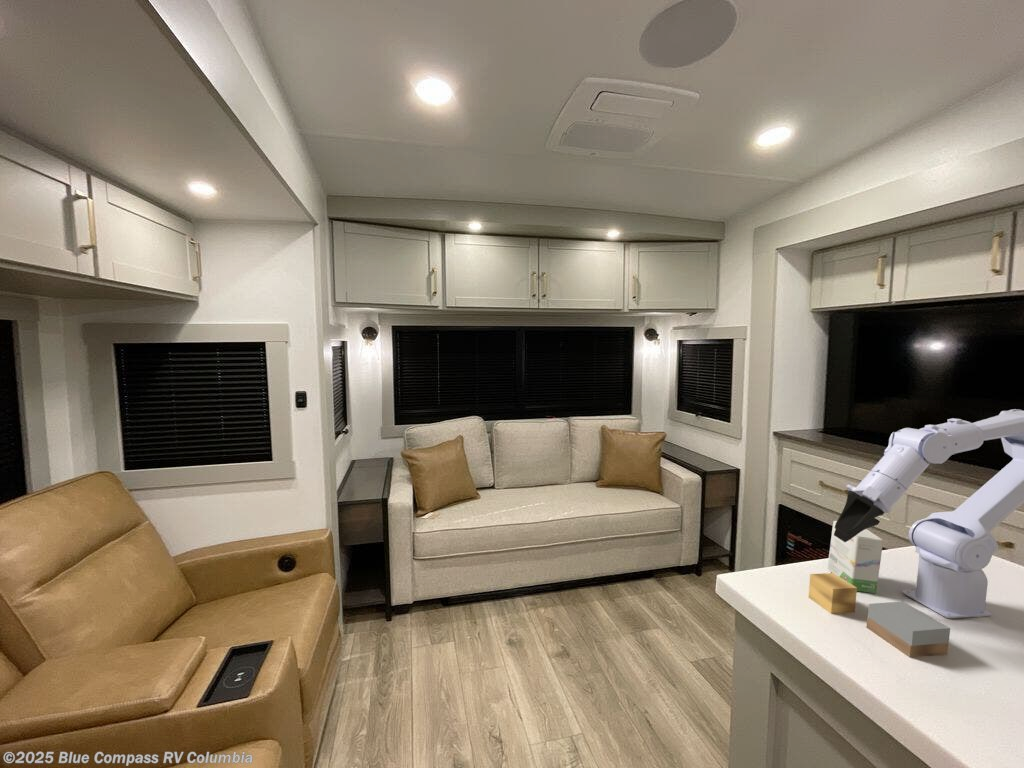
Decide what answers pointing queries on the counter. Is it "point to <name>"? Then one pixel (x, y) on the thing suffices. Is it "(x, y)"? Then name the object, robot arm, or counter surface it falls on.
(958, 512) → the robot arm
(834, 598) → the ochre cube
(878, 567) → the ink box
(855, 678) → the counter surface
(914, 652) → the walnut slab
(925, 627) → the slate-grey slab
